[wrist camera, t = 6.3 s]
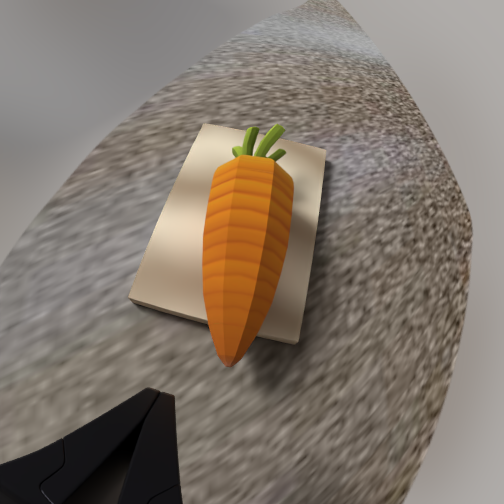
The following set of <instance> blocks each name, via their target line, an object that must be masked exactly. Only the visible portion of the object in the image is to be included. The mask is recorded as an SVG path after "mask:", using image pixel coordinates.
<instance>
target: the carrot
mask: <svg viewBox="0 0 504 504" xmlns="http://www.w3.org/2000/svg"><path fill="white" fill-rule="evenodd" d="M284 131H285V129H284V128H283V127H282V126H280V125H278V124H276V125H275V126H274V127H273V128H272V129H271V130H270V131H269V132H268V133H267V134H266V135H265V137H264V138H263V139H262V140H261V142H260V144H259V146H258V148H257V150H256V152H255V154H254V156H253V149H254V145H255V142H256V139H257V135H258V132H259V128H258V127H250V128H249V129H247V131H246V134H245V137H244V141H243V145H242V147H241V146H235V147H233V148H232V154H233V155H234V156H235V158H234V159H232V160H231V161H229V162H227V163H225V164H223V165H221V166H219V167H218V168H217V169H216V171H215V173H214V175H213V179H212V184H211V189H210V195H209V200H208V205H207V212H206V218H205V225H204V232H203V252H202V276H203V297H204V303H205V309H206V314H207V320H208V325H209V329H210V332H211V335H212V339H213V342H214V345H215V348H216V351H217V354H218V357H219V358H220V359H221V361H222V362H223V364H224V365H225V366H226V367H232V366H233V365H235V364H236V363H237V362H238V361H240V360H241V359H242V357H243V356H244V354H245V353H246V351H247V349H248V348H249V346H250V345H251V343H252V342H253V340H254V338H255V337H256V335H257V334H258V332H259V330H260V328H261V326H262V324H263V321H264V319H265V317H266V315H267V313H268V311H269V309H270V307H271V305H272V302H273V298H274V295H275V292H276V289H277V285H278V282H279V279H280V275H281V272H282V268H283V264H284V260H285V256H286V252H287V248H288V241H289V233H290V225H291V217H292V207H293V195H294V182H293V179H292V177H291V176H290V175H289V174H288V173H287V172H286V171H285V170H284V169H283V168H282V167H281V166H279V165H278V164H277V163H276V161H277V160H279V159H280V158H281V157H283V156H284V155H285V154H286V151H285V150H284V149H280V148H279V149H278V150H276V151H275V152H274V153H273V154H271V155H270V156H269V157H266V154H267V153H268V151H269V150H270V148H271V147H272V146H273V145H274V144H275V142H276V141H277V140H278V139H279V138H280V136H281V135H282V134H283V133H284Z"/></svg>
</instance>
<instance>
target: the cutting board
mask: <svg viewBox="0 0 504 504" xmlns="http://www.w3.org/2000/svg"><path fill="white" fill-rule="evenodd" d="M245 134H246V131H243V130H238V129H233V128H228V127H222V126H217V125H211V124H205V123H204V124H203V126H202V128H201V130H200V132H199V134H198V136H197V138H196V140H195V142H194V144H193V146H192V148H191V150H190V152H189V154H188V156H187V158H186V160H185V162H184V164H183V167H182V169H181V171H180V173H179V175H178V177H177V179H176V181H175V184H174V186H173V188H172V190H171V192H170V195H169V197H168V199H167V201H166V204H165V206H164V208H163V210H162V213H161V215H160V217H159V220H158V222H157V224H156V227H155V229H154V232H153V234H152V236H151V239H150V241H149V244H148V246H147V249H146V251H145V254H144V256H143V259H142V261H141V264H140V266H139V269H138V272H137V274H136V277H135V280H134V282H133V285H132V288H131V290H130V293H129V296H128V298H129V299H130V300H131V301H132V303H135V304H139V305H142V306H145V307H148V308H152V309H155V310H159V311H162V312H165V313H169V314H172V315H176V316H179V317H183V318H187V319H190V320H194V321H198V322H201V323H205V324H208V320H207V314H206V309H205V303H204V297H203V276H202V252H203V232H204V225H205V218H206V212H207V205H208V200H209V195H210V189H211V184H212V179H213V175H214V173H215V171H216V169H217V168H218V167H219V166H221V165H223V164H225V163H227V162H229V161H231V160H232V159H234V158H235V156H234V155H233V154H232V148H233V147H235V146H241V147H242V145H243V141H244V137H245ZM264 137H265V135H262V134H258V135H257V139H256V142H255V145H254V149H253V156H254V154H255V152H256V150H257V148H258V146H259V144H260V142H261V140H262V139H263V138H264ZM279 148H280V149H284V150H285V151H286V154H285V155H284V156H283V157H281V158H280V159H279V160H277V161H276V163H277V164H278V165H279V166H281V167H282V168H283V169H284V170H285V171H286V172H287V173H288V174H289V175H290V176H291V177H292V179H293V182H294V195H293V207H292V217H291V225H290V233H289V241H288V248H287V252H286V256H285V260H284V264H283V268H282V272H281V275H280V279H279V282H278V285H277V289H276V292H275V295H274V298H273V302H272V305H271V307H270V309H269V311H268V313H267V315H266V317H265V319H264V321H263V324H262V326H261V328H260V330H259V332H258V334H257V335H256V336H257V337H262V338H266V339H271V340H275V341H280V342H284V343H289V344H294V345H295V344H296V343H297V342H298V341H299V335H300V330H301V324H302V319H303V313H304V308H305V302H306V296H307V290H308V284H309V278H310V271H311V265H312V258H313V252H314V245H315V238H316V231H317V224H318V216H319V208H320V201H321V192H322V184H323V175H324V166H325V157H326V150H324V149H320V148H317V147H313V146H309V145H305V144H301V143H297V142H293V141H289V140H285V139H280V138H279V139H278V140H277V141H276V142H275V144H274V145H273V146H272V147H271V148H270V150H269V151H268V153H267V154H266V157H269V156H270V155H271V154H273V153H274V152H275V151H276V150H278V149H279Z"/></svg>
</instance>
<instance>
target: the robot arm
mask: <svg viewBox="0 0 504 504" xmlns="http://www.w3.org/2000/svg"><path fill="white" fill-rule="evenodd" d="M0 504H183V501H182V494H181V486H180V474H179V462H178V449H177V433H176V414H175V396H174V395H172V394H168V393H165V392H160V391H159V390H156V389H153V388H150V387H148V388H145V389H144V390H142V391H141V392H139V393H137V394H136V395H134V396H132V397H131V398H129V399H128V400H126V401H124V402H123V403H121V404H119V405H118V406H116V407H114V408H113V409H111V410H109V411H108V412H106V413H104V414H103V415H101V416H99V417H98V418H96V419H94V420H93V421H91V422H89V423H87V424H86V425H84V426H82V427H81V428H79V429H77V430H75V431H74V432H72V433H70V434H68V435H66V436H65V437H63V439H62V438H61V439H59V440H57V441H56V442H54V443H52V444H50V445H48V446H46V447H44V448H42V449H40V450H38V451H35V452H33V453H30V454H28V455H26V456H23V457H20V458H17V459H15V460H12V461H9V462H6V463H3V464H0Z"/></svg>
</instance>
